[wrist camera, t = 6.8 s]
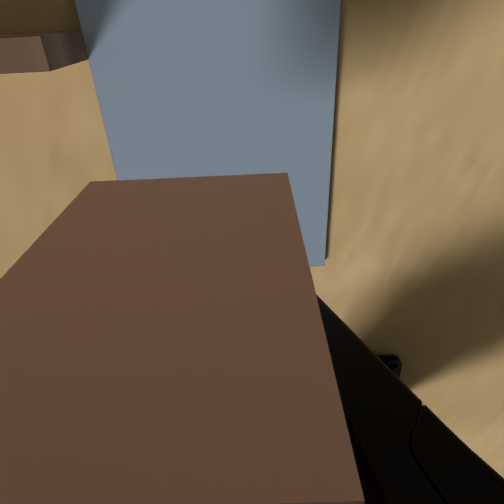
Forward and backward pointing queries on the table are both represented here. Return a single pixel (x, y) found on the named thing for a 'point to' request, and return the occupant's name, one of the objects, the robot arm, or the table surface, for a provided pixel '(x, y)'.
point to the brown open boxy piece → (41, 51)
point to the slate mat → (220, 92)
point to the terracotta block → (170, 353)
